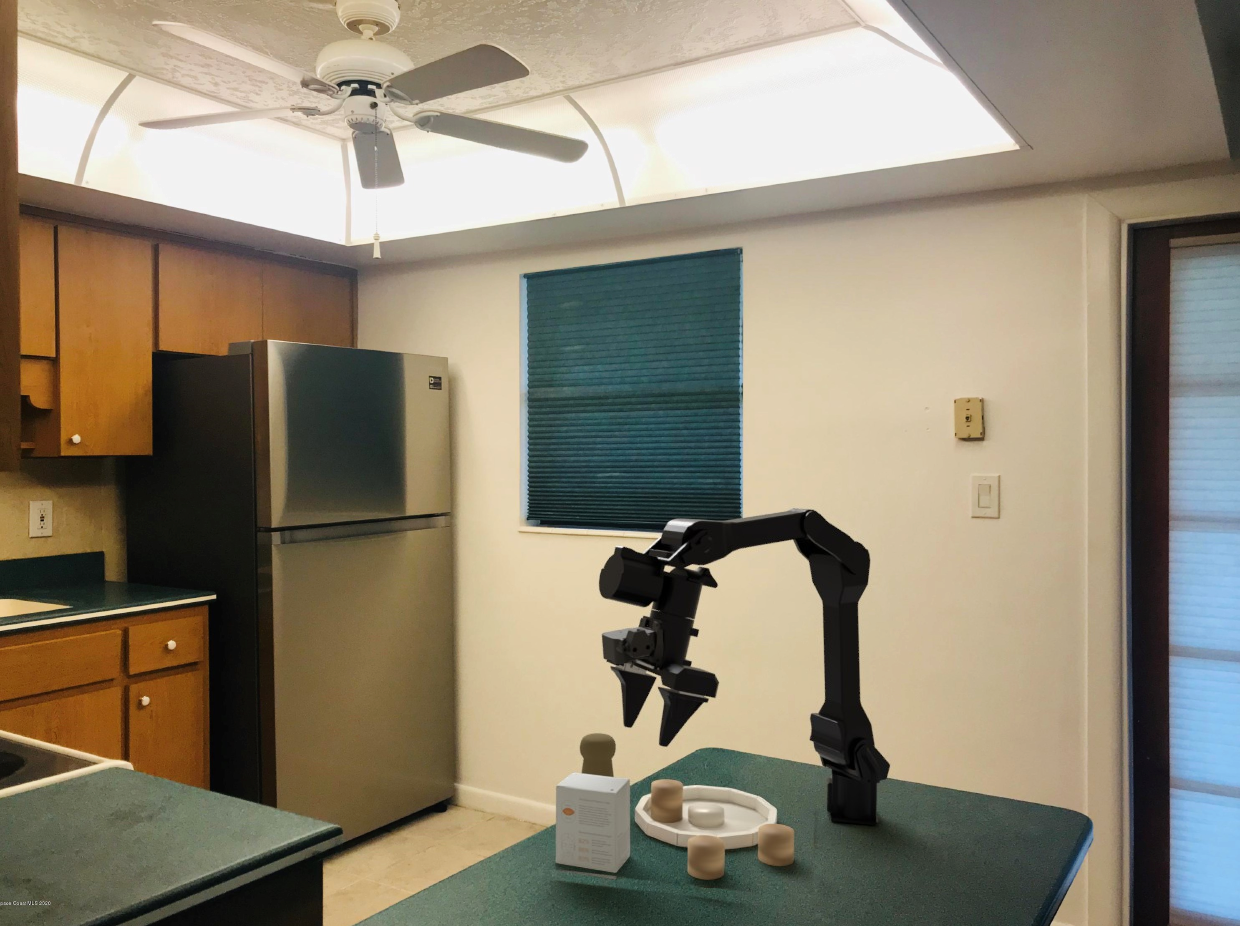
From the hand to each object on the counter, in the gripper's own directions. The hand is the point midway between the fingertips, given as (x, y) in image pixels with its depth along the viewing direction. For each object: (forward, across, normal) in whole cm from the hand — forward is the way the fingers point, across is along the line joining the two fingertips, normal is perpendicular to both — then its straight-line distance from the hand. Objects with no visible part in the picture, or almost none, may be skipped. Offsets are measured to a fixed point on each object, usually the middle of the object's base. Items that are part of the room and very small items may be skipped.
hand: (644, 736), depth 116 cm
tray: (+12, -5, +16) cm, 21 cm away
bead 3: (+12, +9, +18) cm, 23 cm away
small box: (+17, -1, -2) cm, 17 cm away
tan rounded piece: (+14, +8, +8) cm, 18 cm away
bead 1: (+12, -9, +12) cm, 19 cm away
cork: (+15, -17, +6) cm, 23 cm away
